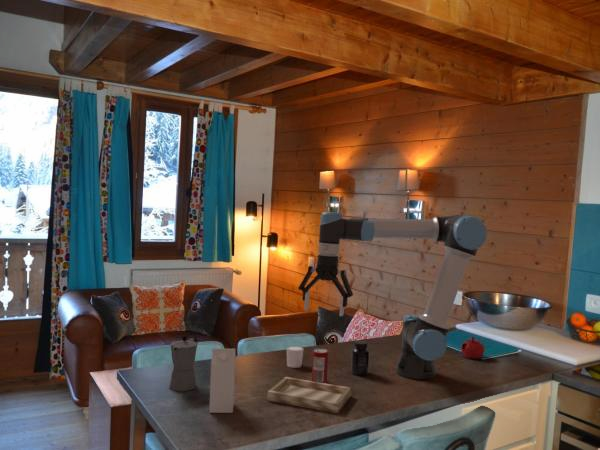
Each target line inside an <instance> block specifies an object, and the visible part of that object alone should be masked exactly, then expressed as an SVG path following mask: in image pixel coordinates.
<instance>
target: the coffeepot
mask: <svg viewBox="0 0 600 450" xmlns="http://www.w3.org/2000/svg"><path fill="white" fill-rule="evenodd" d="M181 337H182V340H176V341H172V342H171V344H170V351H171V359H172V364H173V368H172V373H171V379H170V382H169V383H170V384H169V389H170V390H172V391H174V392H188V391H189V390H190V391H192V389H193V390H194V389H196V386H197V381H196V374H195V372H196V371H195V368H194V363H195V361H196V354H197V348H198V343H199V341H198V339H197V338H196V337H194V336H193V337H191V338H189V339H188V335H186V334H184V335H182V336H181ZM187 339H188V340H187Z"/></svg>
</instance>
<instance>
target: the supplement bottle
mask: <svg viewBox="0 0 600 450" xmlns="http://www.w3.org/2000/svg"><path fill="white" fill-rule="evenodd" d="M353 347H354V348H353V349H351V366H350V372H351V374H353V375H355V376H367V375H368V374H369V373H370V372H369V371H370V350H369V349H368V342H366V341H362V340H358V341H357V340H356V341H355V342H354V346H353Z"/></svg>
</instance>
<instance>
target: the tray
mask: <svg viewBox="0 0 600 450" xmlns="http://www.w3.org/2000/svg"><path fill="white" fill-rule="evenodd" d="M266 394H267V396H266V397H267V399H266V400H267V401H269V402H273V403H274V402H275V403H278V404H279V403H280V404H284V405H290V406H296V407H300V408H306V409H312V410H316V411H317V410H318V411H323V412H328V413H332V414H338V413H340V411H341V410H342V408H344V406H345V404H347V402H348V400H349V399H350V398H351V395H352V387H350V386H349V387H348V386H344V385H343V386H342V385H336V384H331V383H327V382H326V383H320V382H314V381H312V380H306V379H302V378H301V379H300V378H295V377H289V376H284V377H283V378H282V379H281V380H279V382H277V383H276V384H275V385H273V386H272V387H271V388H270V389H269V390H268V391H267V393H266Z"/></svg>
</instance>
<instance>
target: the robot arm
mask: <svg viewBox="0 0 600 450" xmlns="http://www.w3.org/2000/svg"><path fill="white" fill-rule="evenodd" d="M487 238H488V230H487V227H486V225H485V223H484V221H482V220H481V219H480V218H478V217H476V216H473V215H469V214H468V215H465V214H454V215H447V216H434V217H432V219H431V218H429V219H428V218H427V219H425V218H422V219H421V218H358V217H351V218H343V214H342V213H340V212H334V211H333V212H332V211H324V212H322V213H321V217H320V224H319V237H318V239H319V240H318V249H317V250H318V251H317V253H318V255H317V262H316V263H317V264H316V266H314V265H309V266H308V269H307V272H306V274H305V275H304V278H303V279H302V281H301V283H300V285H299V286H298V290H299V291H301V292H302V301H304V304H303V305H304V306H303V311H305V312H306V311H308V310H309V309H310V297H311V292H310V291H309V290H311V288H313V287H314V285H315V284H316V283H317V282H318V281H320V280H321V281H327V282H330V281H331V282H332V283H333V284H334V286H335V287H336V289H337V291H338V292H339V293H340V295H341V297H340V303H339V304H340V305H339V317H343V316H345V315H344V313H345V308H346V307H347V306H348V300H349V299H348V298H351V297H353V296H354V293H353V290H352V288H351V285H350V283H349V280H348V277H347V270H346V269H342V270H341V269H340V270H339V268H338V266H339V256H338V255H340V254H339V253H340V243H341V242H340V240H347V241H358V242H372V241H373V239H399V240H400V239H403V240H404V239H407V240H408V239H411V240H414V239H416V240H422V239H423V240H431V241H433V242H434V243H435V242H439V243H443V248H444V250H445V254H444V256H443V259H442V262H441V265H440V268H439V270H438V272H437V276H436V279H435V281H434V284H433V287H432V289H431V292H430V295H429V298H428V301H427V304H426V306H425V309H424V311H423V313H422V314H405V315H404V316H403V319H402V334H401V335H402V337H401V338H402V339H401V351H400V352H401V353H400V355H399V358H398V361H397V362H396V367H395V372H396V373H397V375H400V377H404V378H408V379H413V380H431V379H434V378H435V377H436V373H437V371H436V366H435V363H434V361H435V360H437V359H440V358H441V357H442V356H443V355H444V354H445V353H446V350H447V348H448V347H447V346H448V343H447V336H448V332H449V330H450V327H449V325H448V320H449V317H450V314H451V312H452V308H453V307H454V303H455V300H456V297H457V295H458V292H459V289H460V286H461V283H462V282H463V281H462V280H463V279H464V275H465V272H466V270H467V267H468V264H469V261H470V260H472V259H473V258H474V259H475V258H476V255H477V252H478V250H479V249H480V248H481V247H482V246H483V245H484V244H485V242H486V240H487ZM314 272H316V273H317V275H316V276H315V277H314V278H313V279H312V280H310V278H311V277H312V275H313V273H314ZM337 275H339V276H340V278H341V281H342V284H343V285H342V284H341V282H340V280H339V278H338V276H337ZM309 280H310V282H309V283H308V281H309ZM343 286H344V287H343Z"/></svg>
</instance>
